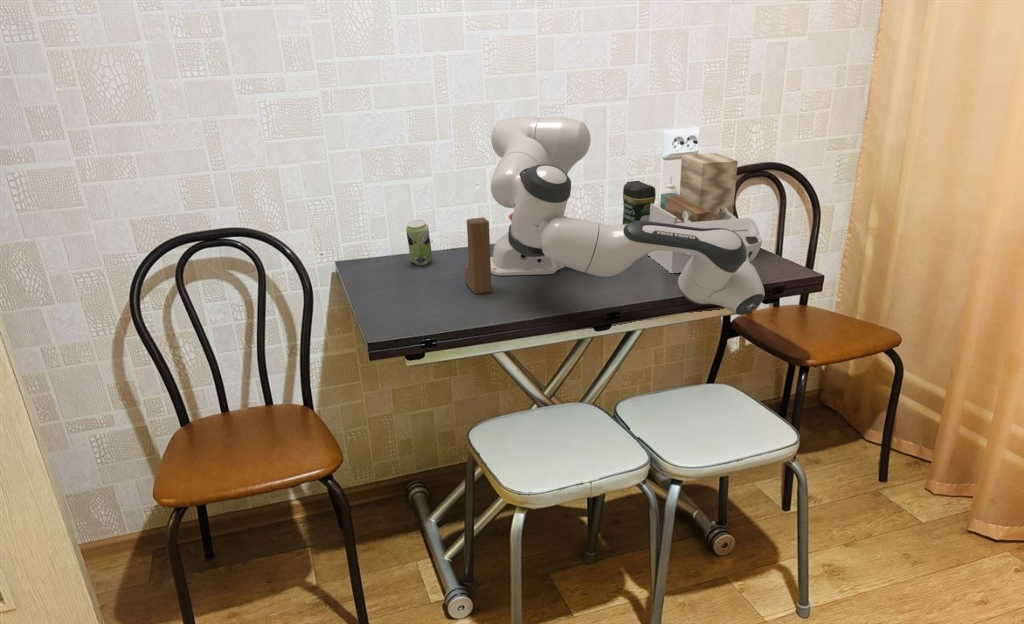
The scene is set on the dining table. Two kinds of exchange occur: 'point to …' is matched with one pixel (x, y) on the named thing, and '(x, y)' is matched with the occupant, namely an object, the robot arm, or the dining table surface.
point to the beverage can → (419, 242)
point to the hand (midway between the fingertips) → (703, 211)
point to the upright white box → (665, 258)
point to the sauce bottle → (667, 191)
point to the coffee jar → (637, 201)
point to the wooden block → (478, 256)
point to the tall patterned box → (709, 181)
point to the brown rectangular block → (684, 207)
